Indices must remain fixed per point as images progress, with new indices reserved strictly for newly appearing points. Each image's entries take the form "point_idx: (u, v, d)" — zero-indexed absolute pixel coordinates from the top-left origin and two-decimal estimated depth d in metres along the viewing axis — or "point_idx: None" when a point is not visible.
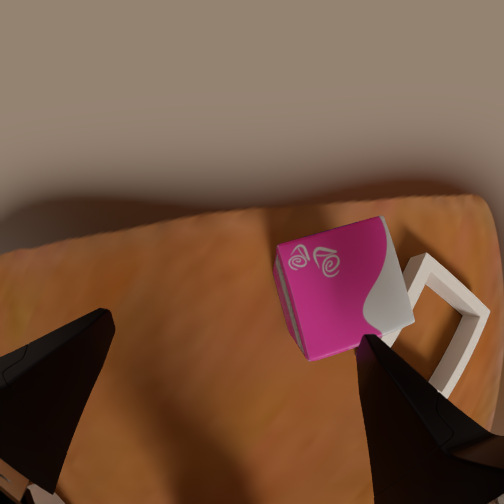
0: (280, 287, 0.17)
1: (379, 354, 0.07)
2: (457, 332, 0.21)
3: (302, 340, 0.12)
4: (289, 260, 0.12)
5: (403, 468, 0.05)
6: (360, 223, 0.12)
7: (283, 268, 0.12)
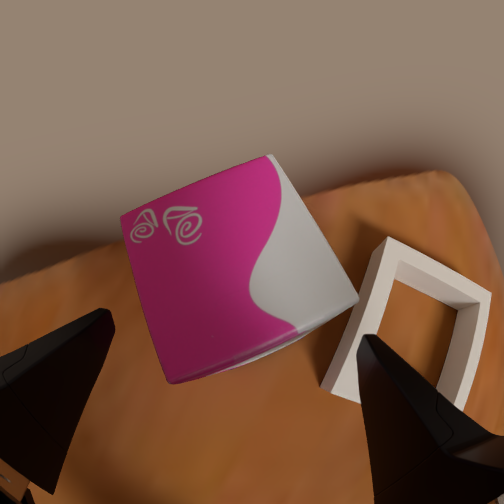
0: None
1: (379, 354, 0.07)
2: (455, 332, 0.16)
3: (156, 349, 0.07)
4: (131, 232, 0.08)
5: (403, 467, 0.05)
6: (235, 167, 0.09)
7: (126, 245, 0.08)
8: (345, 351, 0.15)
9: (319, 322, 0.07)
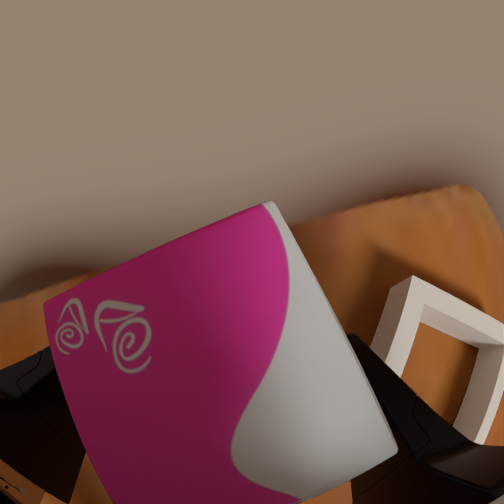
0: None
1: (357, 355, 0.07)
2: (474, 374, 0.13)
3: (111, 494, 0.03)
4: (55, 333, 0.04)
5: (379, 473, 0.05)
6: (208, 229, 0.05)
7: None
8: None
9: None
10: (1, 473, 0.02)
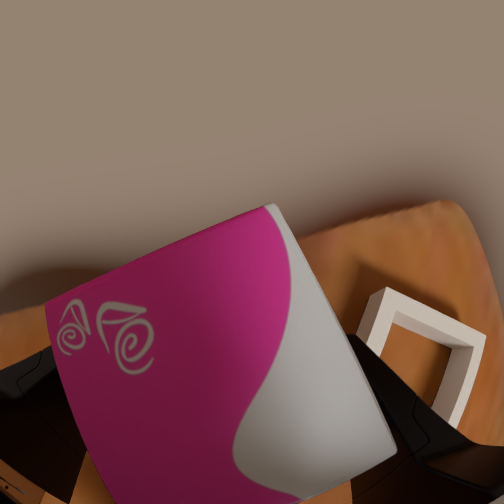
0: None
1: (357, 355, 0.07)
2: (447, 371, 0.16)
3: None
4: (57, 334, 0.04)
5: (379, 473, 0.05)
6: (210, 230, 0.05)
7: None
8: None
9: None
10: (1, 473, 0.02)
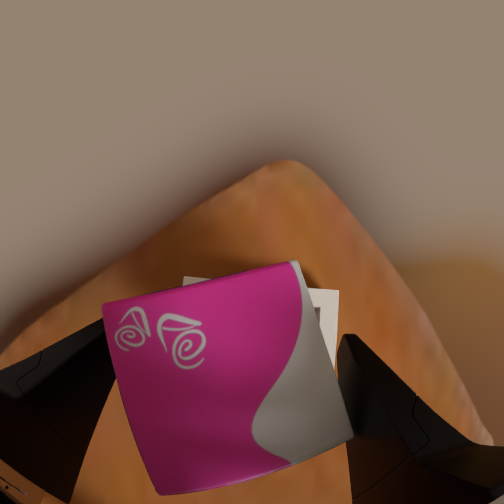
0: None
1: (357, 355, 0.07)
2: None
3: None
4: (116, 333, 0.06)
5: (379, 473, 0.05)
6: (252, 273, 0.07)
7: (109, 345, 0.06)
8: None
9: None
10: (1, 473, 0.02)
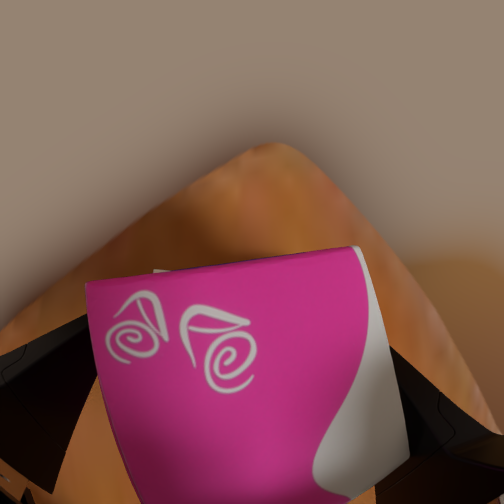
0: None
1: None
2: None
3: None
4: (108, 331, 0.04)
5: (405, 467, 0.04)
6: (313, 256, 0.05)
7: (93, 351, 0.04)
8: None
9: (370, 487, 0.04)
10: None
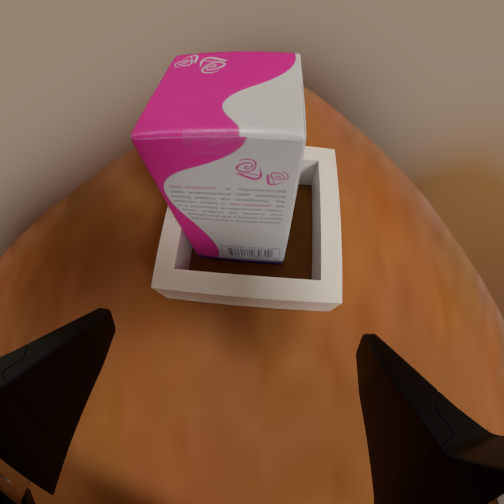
0: None
1: (379, 354, 0.07)
2: (312, 205, 0.19)
3: None
4: (177, 62, 0.09)
5: (403, 468, 0.04)
6: None
7: None
8: None
9: (260, 135, 0.08)
10: None
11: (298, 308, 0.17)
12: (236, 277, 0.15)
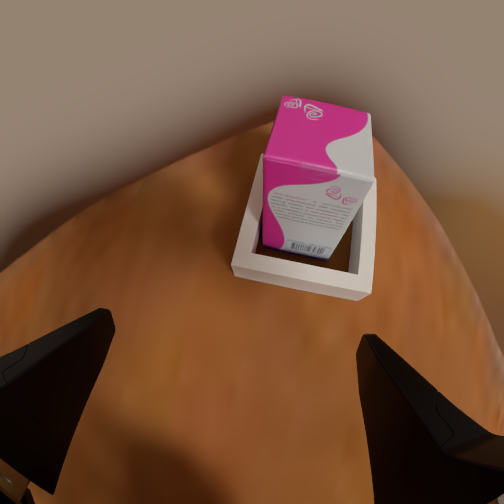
0: None
1: (379, 354, 0.07)
2: (354, 218, 0.24)
3: (267, 144, 0.14)
4: (285, 102, 0.15)
5: (403, 468, 0.05)
6: None
7: None
8: None
9: (349, 175, 0.13)
10: None
11: (336, 295, 0.21)
12: (298, 264, 0.20)
